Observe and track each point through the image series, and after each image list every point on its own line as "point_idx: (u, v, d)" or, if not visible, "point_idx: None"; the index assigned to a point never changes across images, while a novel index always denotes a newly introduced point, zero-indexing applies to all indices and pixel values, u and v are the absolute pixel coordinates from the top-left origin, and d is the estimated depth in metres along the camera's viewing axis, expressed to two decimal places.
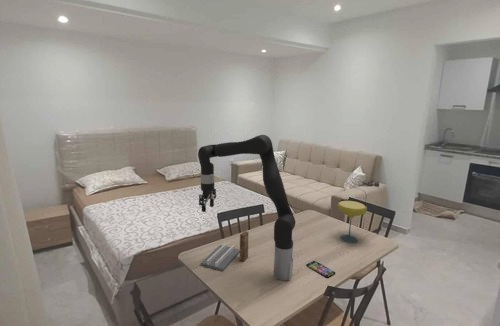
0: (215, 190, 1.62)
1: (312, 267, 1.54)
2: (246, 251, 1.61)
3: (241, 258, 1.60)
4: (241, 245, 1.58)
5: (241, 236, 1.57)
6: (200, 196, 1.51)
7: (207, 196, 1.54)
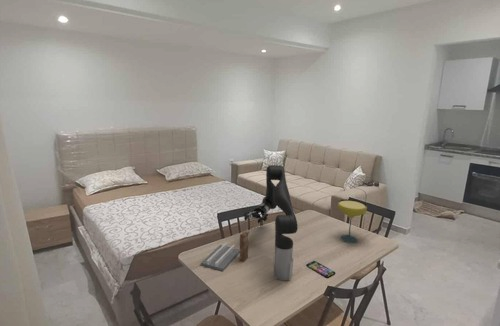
0: (267, 214, 1.74)
1: (312, 267, 1.54)
2: (246, 251, 1.61)
3: (241, 258, 1.60)
4: (241, 245, 1.58)
5: (241, 236, 1.57)
6: None
7: None
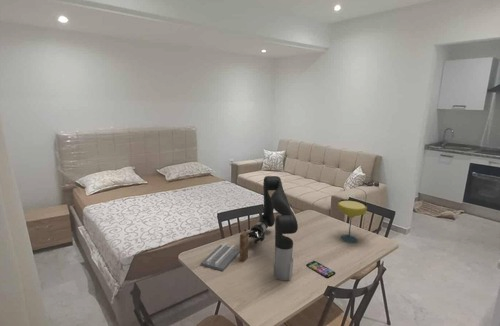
0: (264, 234, 1.72)
1: (312, 267, 1.54)
2: (246, 251, 1.61)
3: (241, 258, 1.60)
4: (241, 245, 1.58)
5: (241, 236, 1.57)
6: None
7: (250, 231, 1.74)
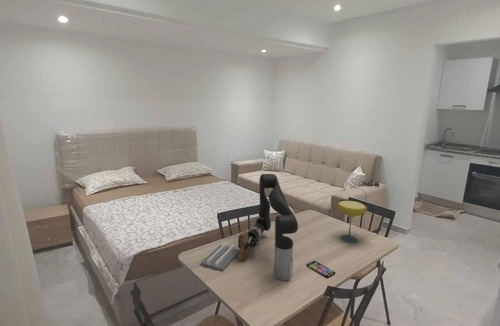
0: (257, 240, 1.63)
1: (312, 267, 1.54)
2: (246, 251, 1.61)
3: (241, 258, 1.60)
4: (241, 245, 1.58)
5: (241, 236, 1.57)
6: None
7: None
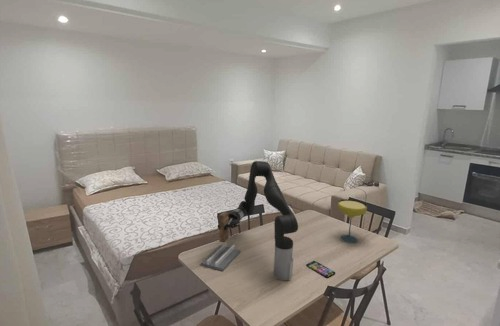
0: (237, 221, 1.62)
1: (312, 267, 1.54)
2: (226, 232, 1.59)
3: (221, 239, 1.59)
4: (220, 226, 1.57)
5: (220, 217, 1.56)
6: None
7: None
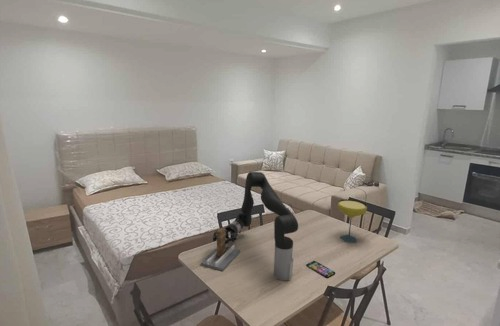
0: (237, 234, 1.64)
1: (312, 267, 1.54)
2: (223, 248, 1.61)
3: (218, 255, 1.60)
4: (218, 242, 1.58)
5: (218, 233, 1.57)
6: None
7: None
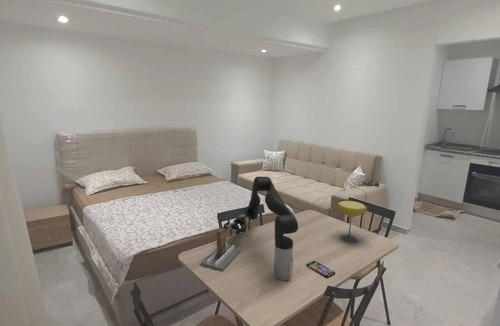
0: (246, 225, 1.76)
1: (312, 267, 1.54)
2: (223, 248, 1.61)
3: (218, 255, 1.60)
4: (218, 242, 1.58)
5: (218, 233, 1.57)
6: None
7: None
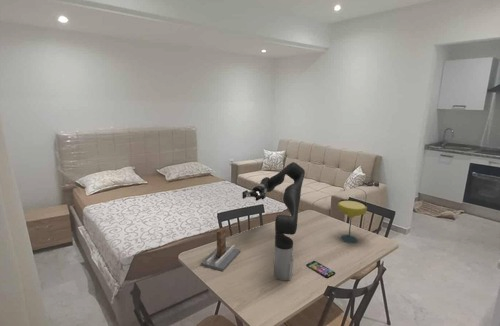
0: (265, 193, 1.75)
1: (312, 267, 1.54)
2: (223, 248, 1.61)
3: (218, 255, 1.60)
4: (218, 242, 1.58)
5: (218, 233, 1.57)
6: None
7: None
